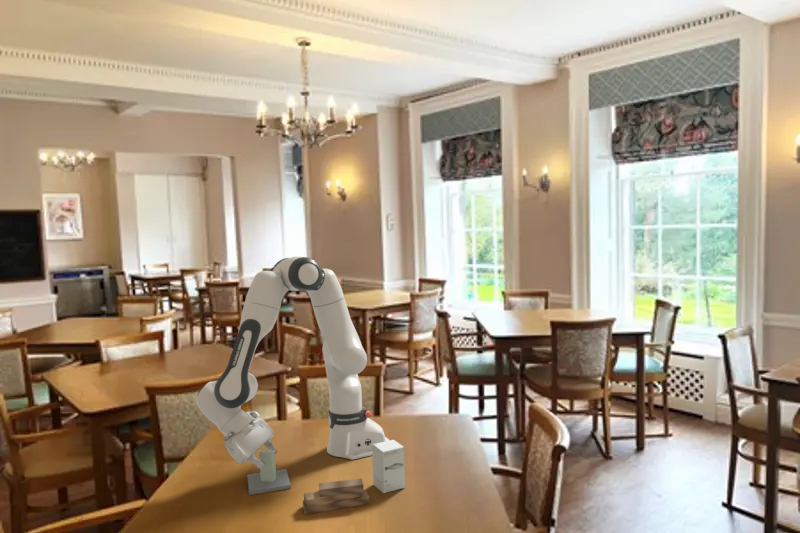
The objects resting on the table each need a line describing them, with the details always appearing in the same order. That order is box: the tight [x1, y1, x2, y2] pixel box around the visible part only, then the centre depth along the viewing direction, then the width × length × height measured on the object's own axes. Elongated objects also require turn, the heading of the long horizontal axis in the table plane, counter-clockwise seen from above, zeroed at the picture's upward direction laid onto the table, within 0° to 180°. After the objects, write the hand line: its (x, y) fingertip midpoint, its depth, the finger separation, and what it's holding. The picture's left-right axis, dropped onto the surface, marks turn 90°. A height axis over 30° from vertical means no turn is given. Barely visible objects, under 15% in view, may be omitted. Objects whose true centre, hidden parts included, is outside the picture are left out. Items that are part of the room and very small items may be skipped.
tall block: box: [258, 448, 277, 482], centre depth 178 cm, size 2×4×9 cm, turn 79°
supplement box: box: [371, 439, 406, 494], centre depth 173 cm, size 7×7×13 cm
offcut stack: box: [302, 478, 371, 515], centre depth 162 cm, size 18×6×6 cm, turn 107°
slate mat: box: [246, 468, 291, 496], centre depth 178 cm, size 12×12×1 cm
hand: (269, 459), depth 177 cm, fingers open, 8 cm apart
